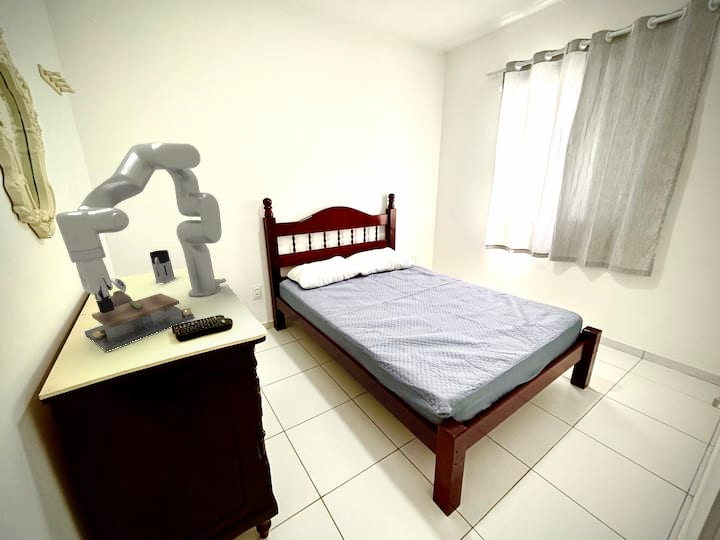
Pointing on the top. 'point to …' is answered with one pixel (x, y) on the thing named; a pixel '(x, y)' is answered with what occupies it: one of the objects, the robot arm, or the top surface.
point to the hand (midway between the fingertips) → (107, 311)
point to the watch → (119, 284)
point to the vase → (120, 298)
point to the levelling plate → (135, 310)
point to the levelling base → (138, 327)
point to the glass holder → (162, 266)
